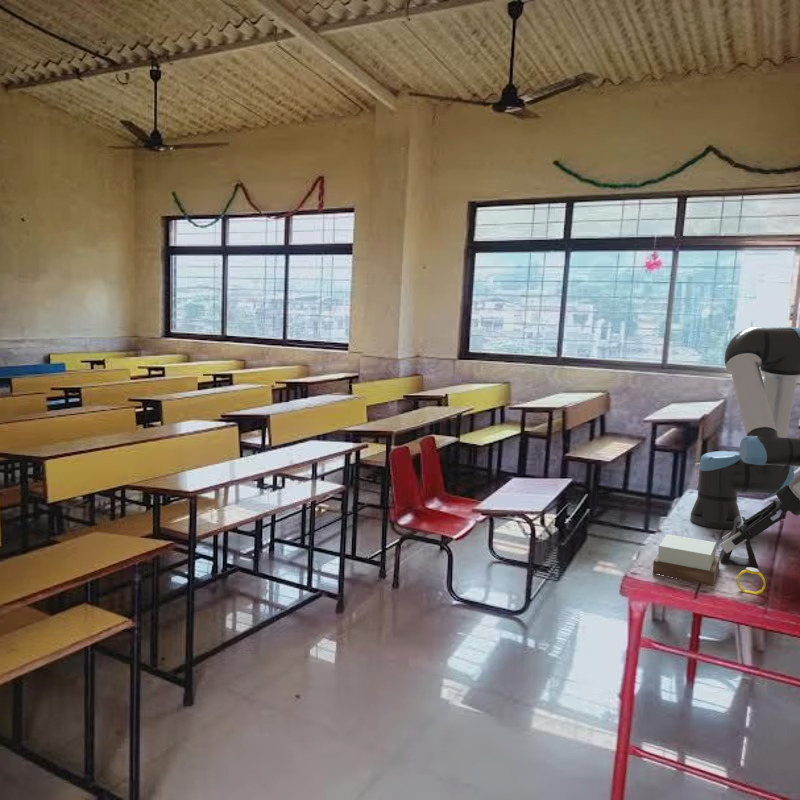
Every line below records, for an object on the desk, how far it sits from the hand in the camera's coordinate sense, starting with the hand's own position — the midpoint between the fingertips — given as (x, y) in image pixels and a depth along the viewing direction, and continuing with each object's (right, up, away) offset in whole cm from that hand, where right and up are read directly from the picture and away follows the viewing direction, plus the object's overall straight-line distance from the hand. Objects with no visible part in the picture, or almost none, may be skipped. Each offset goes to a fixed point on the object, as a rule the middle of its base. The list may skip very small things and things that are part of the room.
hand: (724, 545), depth 178 cm
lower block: (-15, -5, -9) cm, 18 cm away
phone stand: (+3, -4, -1) cm, 6 cm away
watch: (-5, -6, -23) cm, 24 cm away
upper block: (-15, -1, -10) cm, 18 cm away
